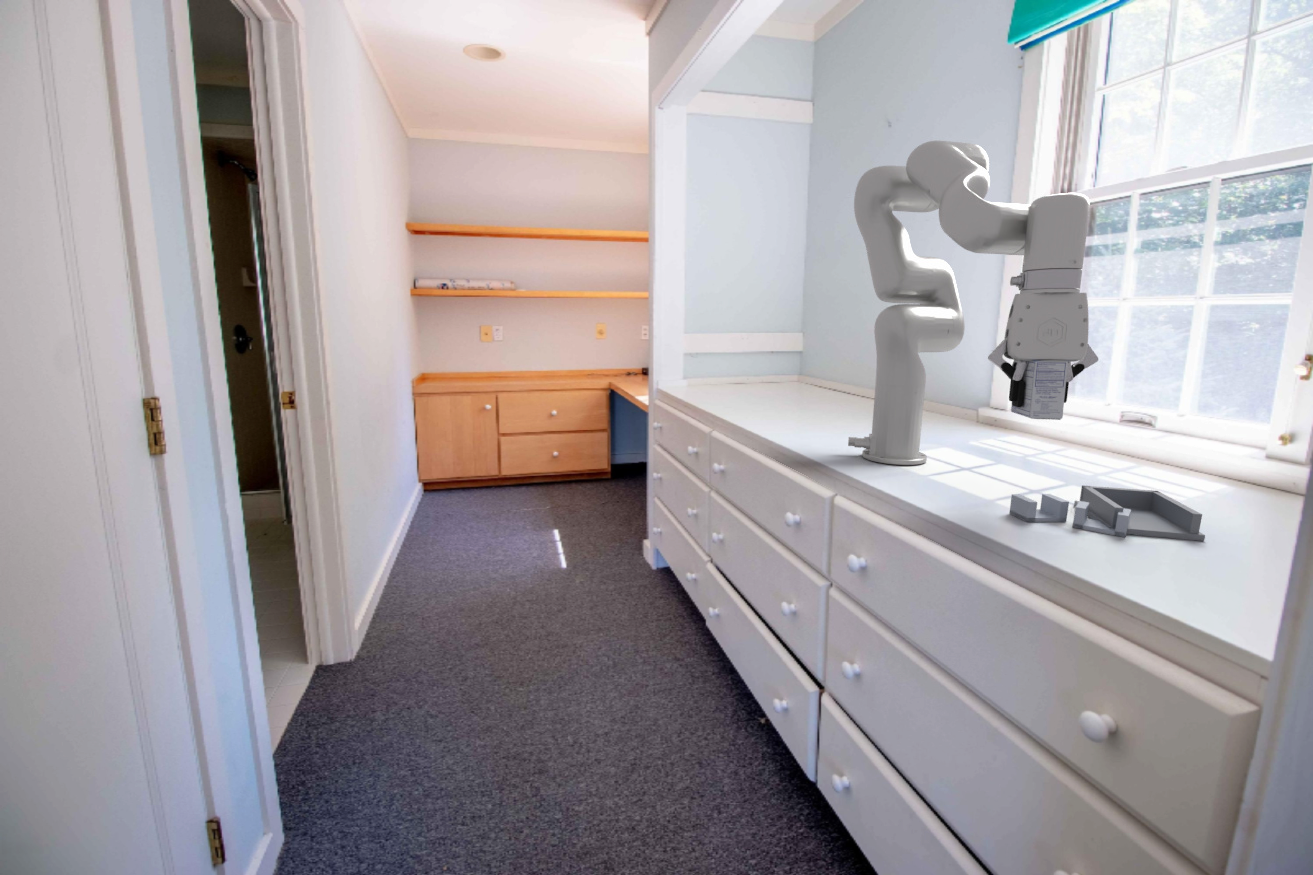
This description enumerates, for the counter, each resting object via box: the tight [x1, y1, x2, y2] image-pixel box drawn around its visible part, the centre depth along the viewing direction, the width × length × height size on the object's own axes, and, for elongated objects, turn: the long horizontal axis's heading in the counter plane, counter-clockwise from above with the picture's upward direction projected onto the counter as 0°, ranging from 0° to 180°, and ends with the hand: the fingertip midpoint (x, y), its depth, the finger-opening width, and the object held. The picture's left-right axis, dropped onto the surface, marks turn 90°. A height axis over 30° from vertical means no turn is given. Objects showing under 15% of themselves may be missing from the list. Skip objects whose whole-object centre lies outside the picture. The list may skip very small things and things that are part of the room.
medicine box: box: [1010, 360, 1068, 421], centre depth 93 cm, size 8×4×9 cm, turn 169°
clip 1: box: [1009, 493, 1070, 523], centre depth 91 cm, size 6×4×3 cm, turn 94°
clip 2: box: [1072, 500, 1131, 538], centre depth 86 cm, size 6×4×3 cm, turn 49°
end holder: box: [1073, 484, 1206, 542], centre depth 89 cm, size 11×13×4 cm
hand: (1036, 405), depth 94 cm, fingers closed on medicine box, 4 cm apart
